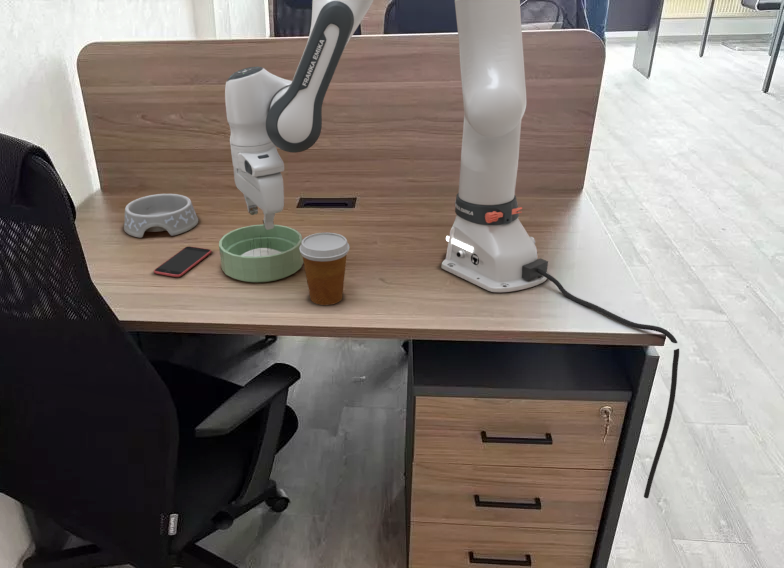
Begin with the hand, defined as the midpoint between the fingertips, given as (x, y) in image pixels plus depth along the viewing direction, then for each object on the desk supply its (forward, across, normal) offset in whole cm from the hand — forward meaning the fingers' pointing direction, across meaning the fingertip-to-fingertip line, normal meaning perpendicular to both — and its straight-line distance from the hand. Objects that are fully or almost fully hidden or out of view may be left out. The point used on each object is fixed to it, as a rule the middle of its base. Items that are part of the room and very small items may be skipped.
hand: (260, 220), depth 151 cm
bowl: (+10, 0, 0) cm, 10 cm away
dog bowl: (+10, -36, -14) cm, 40 cm away
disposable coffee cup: (+11, +20, +5) cm, 23 cm away
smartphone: (+10, -10, -16) cm, 21 cm away
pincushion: (+10, 0, 0) cm, 10 cm away
